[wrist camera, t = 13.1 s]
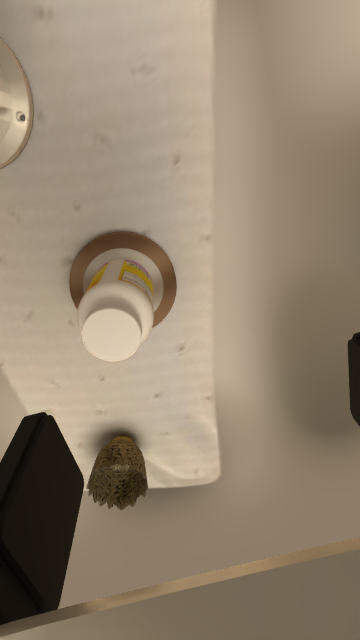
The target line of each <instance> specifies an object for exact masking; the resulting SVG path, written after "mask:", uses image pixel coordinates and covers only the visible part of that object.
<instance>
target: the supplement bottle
mask: <svg viewBox="0 0 360 640" xmlns="http://www.w3.org/2000/svg"><path fill="white" fill-rule="evenodd" d="M153 319H154V310H153V284H152V280H151V277H150V275H149V274H148V272H147V271H146V269H145V268H144V267H143V266H141V265H140V264H138V263H137V262H135V261H132V260H128V259H115V260H111V261H109V262H107V263H105V264H104V265H103V266H101V267H100V268H99V270H98V271H97V272H96V274H95V276H94V278H93V279H92V281H91V283H90V285H89V287H88V289H87V291H86V292H85V294H84V296H83V298H82V299H81V301H80V304H79V307H78V311H77V321H78V325H79V328H80V330H81V337H82V341H83V343H84V346H85V347H86V349H87V350H88V351H89V352H90V353H91V354H92V355H93V356H95V357H97V358H99V359H101V360H105V361H121V360H124V359H126V358H128V357H130V356H131V355H133V354H134V353H135V351H136V350H137V349H138V347H139V345H140V344H142V343H143V342H144V341H145V339H146V338H147V337H148V335H149V334H150V332H151V329H152V326H153Z"/></svg>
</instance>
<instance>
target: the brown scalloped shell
mask: <svg viewBox="0 0 360 640" xmlns="http://www.w3.org/2000/svg"><path fill="white" fill-rule="evenodd" d="M87 489H89V496H90V495H91V494H92V493H93V498H94V502H95V503H96V502H97V501H98V503H99V505H100V506H102V505H103V504H104V503H106V501H107V503H108V509H110V508H111V507H113V504H114V505H116V506H117V507H118V508H119V509H120V510H123V509H124V508H126V507H127V506H128V505H129V504H130V505H131V506H132V507H133V506H135V504H136V499H137V497H140V495H141V494H142V497H145V494H146V491H147V489H148V484H147V477H146V469H145V462H144V458H143V455H142V452H141V450H140V449H139V448H138V446H137V445H135V444H134V442H133V440H132V439H131V438H130V437H129V436H126V435H118V436H116V437H114V438H113V439H112V440H111V441H110V443H108V444H107V445H105V446H104V447H103V448H102V449H101V451H100V452H99V454H98V456H97V458H96V461H95V463H94V466H93V469H92V472H91V475H90V478H89V481H88V484H87Z"/></svg>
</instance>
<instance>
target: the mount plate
mask: <svg viewBox="0 0 360 640" xmlns="http://www.w3.org/2000/svg"><path fill="white" fill-rule="evenodd" d="M115 259H128V260H132V261H135V262H137V263H138V264H140V265H141V266H143V267H144V268H145V269H146V271H147V272H148V274H149V275H150V277H151V280H152V284H153V310H154V319H153V326H152V328H153V327H155V326H156V325H158V324H159V323H160V322H161V321H162V320H163V319H164V318H165V317H166V316H167V314H168V313H169V311H170V310H171V308H172V306H173V303H174V300H175V296H176V288H177V287H176V277H175V273H174V269H173V266H172V264H171V262H170V259H169V258H168V256H167V255H166V253H165V252H164V251H163V250H162V249H161V248H160V247H159V246H158V245H157V244H156V243H155V242H153V241H152V240H150V239H148V238H146V237H144V236H142V235H139V234H136V233H131V232H113V233H108V234H105V235H102V236H100V237H98V238H96V239H94V240H93V241H91V242H90V243H89V244H88V245H87V246H86V247H85V248H84V249H83V250H82V251H81V252H80V254H79V255H78V256H77V258H76V260H75V261H74V264H73V266H72V269H71V273H70V280H69V283H70V292H71V296H72V299H73V302H74V304H75V306H76V308H77V309H78V307H79V304H80V301H81V299H82V298H83V296H84V294H85V292H86V291H87V289H88V287H89V285H90V283H91V281H92V279H93V278H94V276H95V274H96V272H97V271H98V270H99V268H100V267H101V266H103V265H104V264H105V263H107V262H109V261H111V260H115Z"/></svg>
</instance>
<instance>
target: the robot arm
mask: <svg viewBox="0 0 360 640" xmlns="http://www.w3.org/2000/svg"><path fill="white" fill-rule="evenodd" d="M23 115H24V116H25V117H26V119H25V121H22V119H21V117H22V116H23ZM32 119H33V105H32V95H31V92H30V88H29V84H28V81H27V78H26V76H25V74H24V72H23V69H22V67H21V65H20V63H19V62H18V60H17V59H16V57H15V56H14V54H13V52H12V51H11V50H10V49H9V47H8V46H7V45H6V44H5V43H4V42H3V40H2V39H1V38H0V168H1V167H3V166H5V165H7V164H8V163H10V162H11V161H12V160H14V159H15V158H16V157H17V156H18V154H19V153H20V152H21V151H22V149H23V148H24V146H25V144H26V142H27V140H28V138H29V135H30V131H31V127H32ZM348 362H349V363H348V364H349V388H350V410H351V413H352V416H353V418H354V420H355V421H356V422H357V423H358V425H359V426H360V332H359V333H355V334H354V335H353V337H352V339H351V340H349V341H348ZM83 489H84V479H83V475H82V473H81V471H80V469H79V467H78V465H77V463H76V461H75V459H74V457H73V455H72V453H71V451H70V449H69V447H68V445H67V443H66V441H65V439H64V437H63V435H62V433H61V431H60V429H59V427H58V425H57V423H56V421H55V419H54V418H53V416H52V415H47V414H46V413H45V412H41V413H37V414H33V415H29V416H26V417H24V418H23V420H22V421H21V423H20V425H19V427H18V429H17V431H16V433H15V435H14V437H13V439H12V441H11V443H10V445H9V447H8V448H7V450H6V452H5V454H4V456H3V458H2V460H1V462H0V640H360V537H356V538H352V539H348V540H343V541H340V542H335V543H330V544H326V545H322V546H318V547H313V548H309V549H305V550H301V551H296V552H292V553H288V554H284V555H279V556H276V557H271V558H267V559H262V560H258V561H254V562H250V563H246V564H241V565H237V566H233V567H229V568H225V569H221V570H216V571H212V572H208V573H204V574H200V575H195V576H192V577H187V578H183V579H179V580H175V581H171V582H167V583H163V584H159V585H155V586H150V587H146V588H142V589H138V590H134V591H130V592H126V593H122V594H117V595H113V596H109V597H105V598H101V599H97V600H93V601H89V602H85V603H81V604H77V605H73V606H69V607H66V608H61V609H58V606H59V603H60V599H61V594H62V589H63V585H64V580H65V575H66V570H67V565H68V561H69V556H70V550H71V546H72V541H73V537H74V532H75V527H76V522H77V517H78V513H79V508H80V503H81V498H82V493H83ZM57 609H58V610H57Z"/></svg>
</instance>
